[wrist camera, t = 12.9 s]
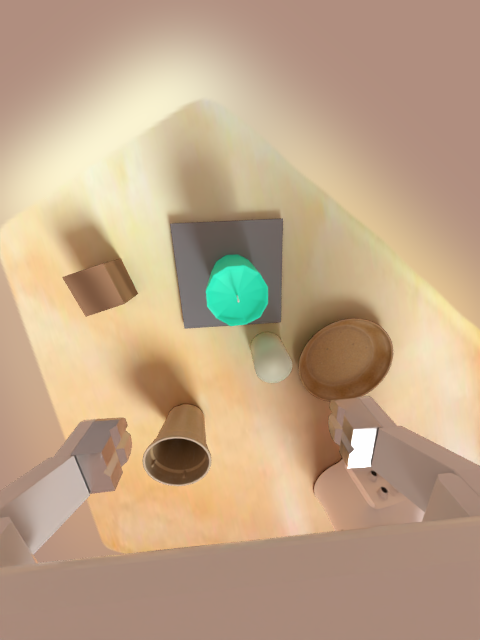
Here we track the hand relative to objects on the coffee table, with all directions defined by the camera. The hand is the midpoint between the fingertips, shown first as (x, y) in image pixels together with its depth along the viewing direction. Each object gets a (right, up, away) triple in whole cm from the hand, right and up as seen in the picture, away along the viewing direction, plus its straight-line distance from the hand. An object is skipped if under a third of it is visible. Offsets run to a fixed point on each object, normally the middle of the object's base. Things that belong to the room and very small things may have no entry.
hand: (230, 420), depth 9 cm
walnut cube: (-17, +9, +23) cm, 30 cm away
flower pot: (-9, -13, +32) cm, 35 cm away
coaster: (-1, +10, +23) cm, 25 cm away
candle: (-1, +10, +23) cm, 25 cm away
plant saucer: (+17, -2, +30) cm, 34 cm away
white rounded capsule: (+4, 0, +28) cm, 28 cm away
